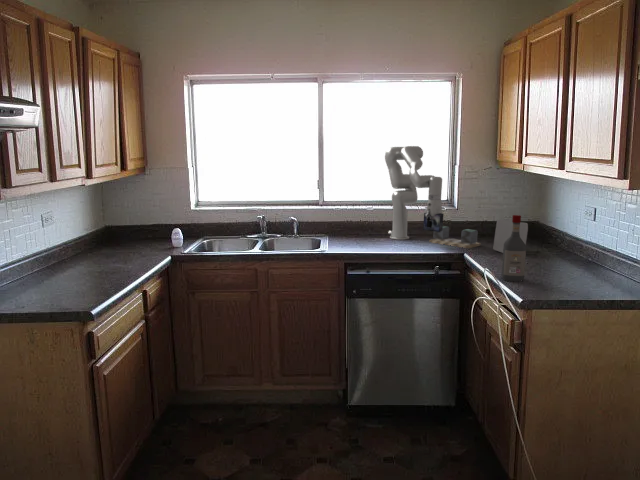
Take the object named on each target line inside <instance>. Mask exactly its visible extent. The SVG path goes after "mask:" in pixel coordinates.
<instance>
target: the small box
mask: <svg viewBox="0 0 640 480" xmlns="http://www.w3.org/2000/svg"><path fill="white" fill-rule="evenodd" d="M426 213H427V211H426V212H424V214H423V224H422V225H423V226H422V230H423V231H430V232H434V231H435V232H440V231H442V230H443V226H444V213H443V212H442V213H440V214H436V215H435V217H432V220H431V221H432V227H431V228H429V227H427V219H426V216H425V214H426ZM429 216H431V215H430V214H429ZM429 218H430V217H429Z"/></svg>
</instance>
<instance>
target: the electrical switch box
mask: <svg viewBox="0 0 640 480" xmlns="http://www.w3.org/2000/svg"><path fill="white" fill-rule="evenodd" d="M512 226H513V222H512V219H511V218H503V219H502V218H501V219H497V220H496V225H495V232H494V237H493V238H494V239H493V247H492V250H493V251H496V252H499V253H502V254H503V246H504V242H505V241H506V240H507V239H508V238H509V237H510V236H511V234H512ZM528 232H529V224H528V223H527V222H521V223H520V233H519V234H520V238H521V239H522V241H523V242H524V243H525V245H526V246H527V239H528Z"/></svg>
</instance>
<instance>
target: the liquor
mask: <svg viewBox="0 0 640 480" xmlns="http://www.w3.org/2000/svg"><path fill="white" fill-rule="evenodd" d="M511 218H512V219H511V220H512V222H513V226H512V234H511V236H510V237H509V238H508V239H507V240H506V241H505V242H504V246H503V253H502V263H501V264H502V265H501V277H502V279H503V280H504V281H505V280H507V281H506V282H512V281H521V280H523V281H524V280H525V272H526V271H525V269H526V259H527V256H526V253H527V244H526V245H525V243H524V242H523V241H522V239H521V238H520V234H519V233H520V223H521V221H522V215H521V214H513V215H512V217H511ZM521 282H522V281H521Z"/></svg>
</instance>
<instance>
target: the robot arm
mask: <svg viewBox="0 0 640 480" xmlns="http://www.w3.org/2000/svg"><path fill="white" fill-rule="evenodd" d="M423 157H424V150H423V149H422V147H420V146H418V145H410V146H409V145H408V146H391V147H389V148H387V149H386V151H385V155H384V161H385V163H386V166H387V169H388V173H389V177H390V178H389V179H390V184H391V187H392V188H393V189H394V190H396V189H397V190H396V191H393V193H392V195H391V201H392V230H388V231H387V232H388V235H390V236H389V238H390V239H391V240H399V241H400V240H401V241H402V240H409V239H410V236H408V209H407V207H406V206H407V205H414V204H416V203H417V202H418V198H419V197H418V192H417V188H418V189H427V188H428V195H427V205H426V212H427V213H426V212H425V213H426V214H425V216H426V219H427V227H429V228H431V227H432V221H431V220H432V217H435V215H436V214H440V213H442V214H443V210H442V209H443V203H442V191H443V190H442V189H443V178H442V177H441V176H436V175H435V176H434V175H431V174H430V175H429V174H428V175H426V174H425V175H423V174H422V175H420V174H419V172H418V170H420V169H421V168H422V167H423V161H422V158H423ZM398 161H405V164H407V166H408V168H409V172H408V173H409V174H408V173H403V169H402V166H401V165H400V163H399V162H398ZM429 214H430V215H431V216H429ZM429 217H430V218H429Z"/></svg>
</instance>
